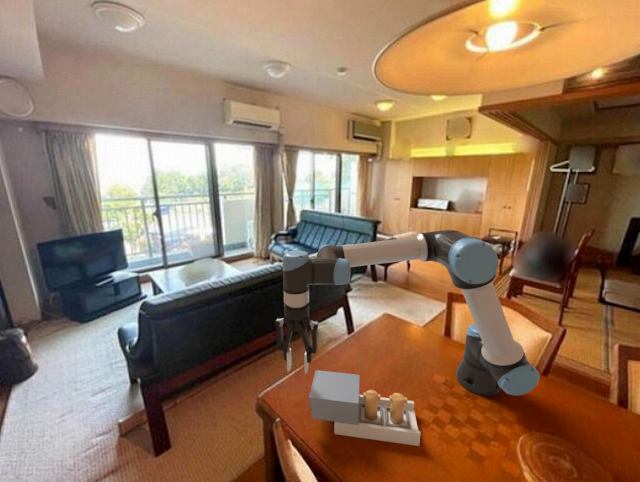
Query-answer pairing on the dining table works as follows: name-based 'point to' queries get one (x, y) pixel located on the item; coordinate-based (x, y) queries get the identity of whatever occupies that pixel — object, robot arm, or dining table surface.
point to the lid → (335, 397)
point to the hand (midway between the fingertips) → (297, 369)
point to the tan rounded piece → (371, 404)
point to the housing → (383, 424)
